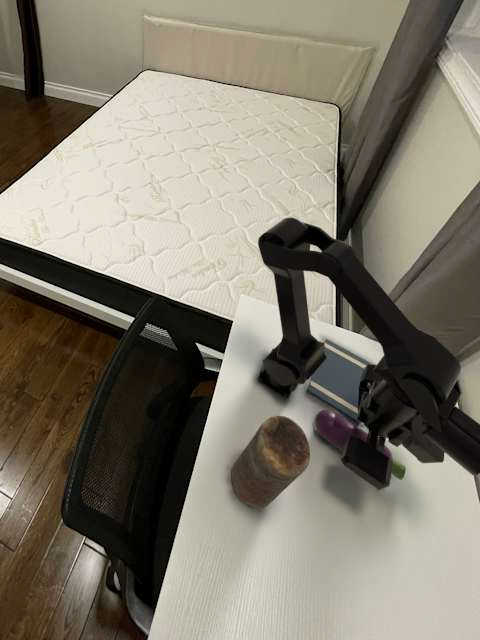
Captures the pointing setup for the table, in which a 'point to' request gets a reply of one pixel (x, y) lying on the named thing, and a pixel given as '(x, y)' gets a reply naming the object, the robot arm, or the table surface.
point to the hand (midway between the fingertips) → (355, 437)
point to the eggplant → (341, 429)
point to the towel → (339, 379)
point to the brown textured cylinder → (270, 461)
